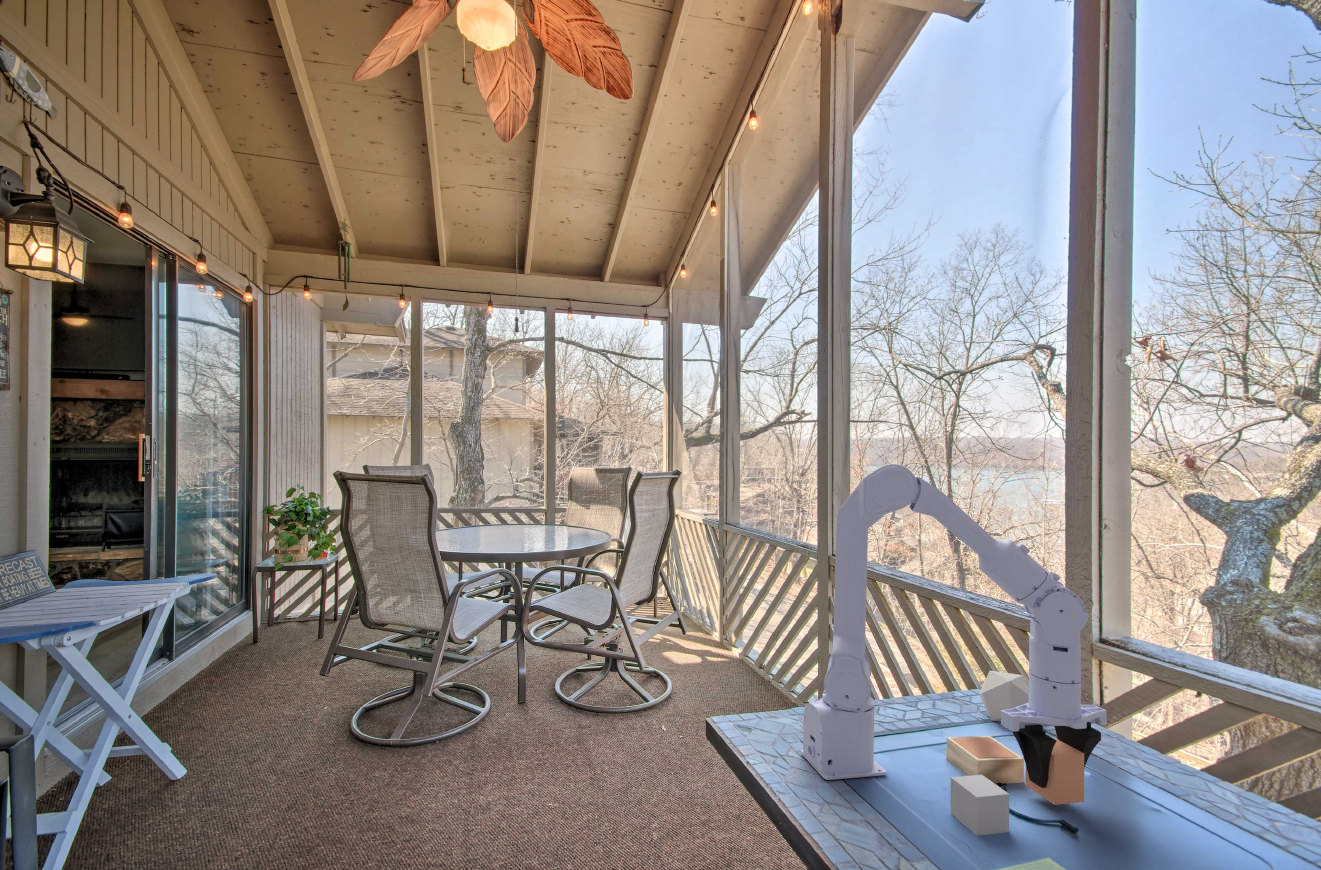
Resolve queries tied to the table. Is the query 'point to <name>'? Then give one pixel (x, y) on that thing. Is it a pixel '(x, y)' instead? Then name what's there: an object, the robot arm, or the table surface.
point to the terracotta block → (1062, 776)
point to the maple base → (985, 759)
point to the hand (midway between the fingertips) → (1054, 782)
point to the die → (1003, 693)
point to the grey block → (980, 804)
